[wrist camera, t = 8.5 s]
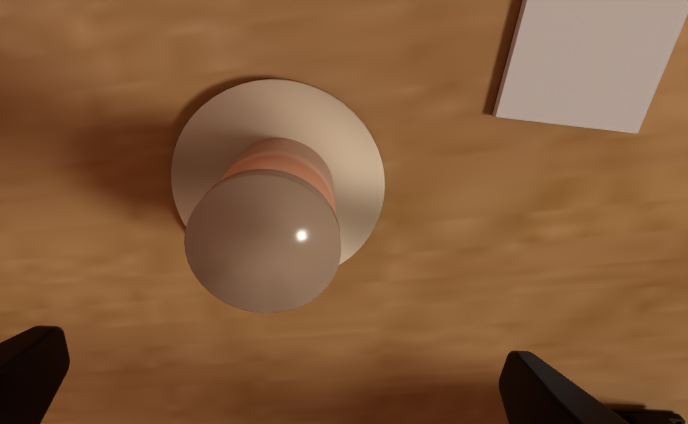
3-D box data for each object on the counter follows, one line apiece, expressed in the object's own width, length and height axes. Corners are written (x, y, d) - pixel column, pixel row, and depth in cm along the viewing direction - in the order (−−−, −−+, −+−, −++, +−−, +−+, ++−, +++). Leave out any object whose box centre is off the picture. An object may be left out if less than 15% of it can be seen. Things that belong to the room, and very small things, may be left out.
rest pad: (631, 131, 19) (637, 133, 18) (492, 115, 18) (495, 116, 18) (701, -38, 16) (710, -40, 16) (539, -65, 15) (545, -67, 15)
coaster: (367, 280, 21) (368, 286, 21) (180, 266, 20) (176, 273, 20) (399, 92, 17) (401, 94, 17) (169, 65, 17) (163, 66, 16)
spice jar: (330, 243, 20) (332, 317, 14) (225, 234, 19) (187, 307, 14) (342, 142, 18) (350, 184, 12) (225, 129, 17) (180, 168, 12)
